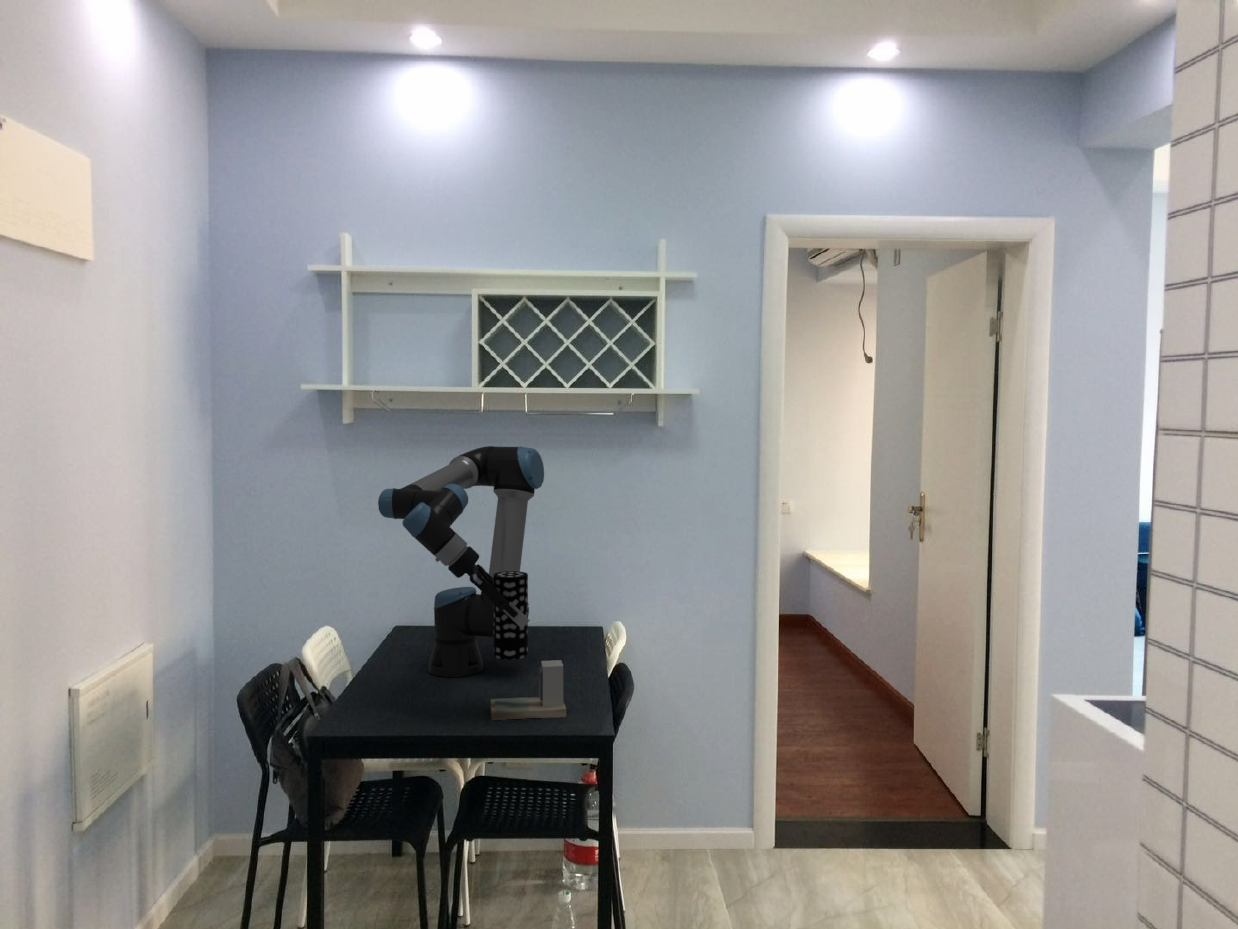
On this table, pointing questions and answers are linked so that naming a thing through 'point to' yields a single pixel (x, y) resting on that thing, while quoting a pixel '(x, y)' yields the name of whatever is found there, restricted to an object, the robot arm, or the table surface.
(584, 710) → the table surface
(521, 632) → the white-spotted black cylinder
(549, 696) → the block
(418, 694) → the table surface
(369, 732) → the table surface
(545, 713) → the beige rectangular board
